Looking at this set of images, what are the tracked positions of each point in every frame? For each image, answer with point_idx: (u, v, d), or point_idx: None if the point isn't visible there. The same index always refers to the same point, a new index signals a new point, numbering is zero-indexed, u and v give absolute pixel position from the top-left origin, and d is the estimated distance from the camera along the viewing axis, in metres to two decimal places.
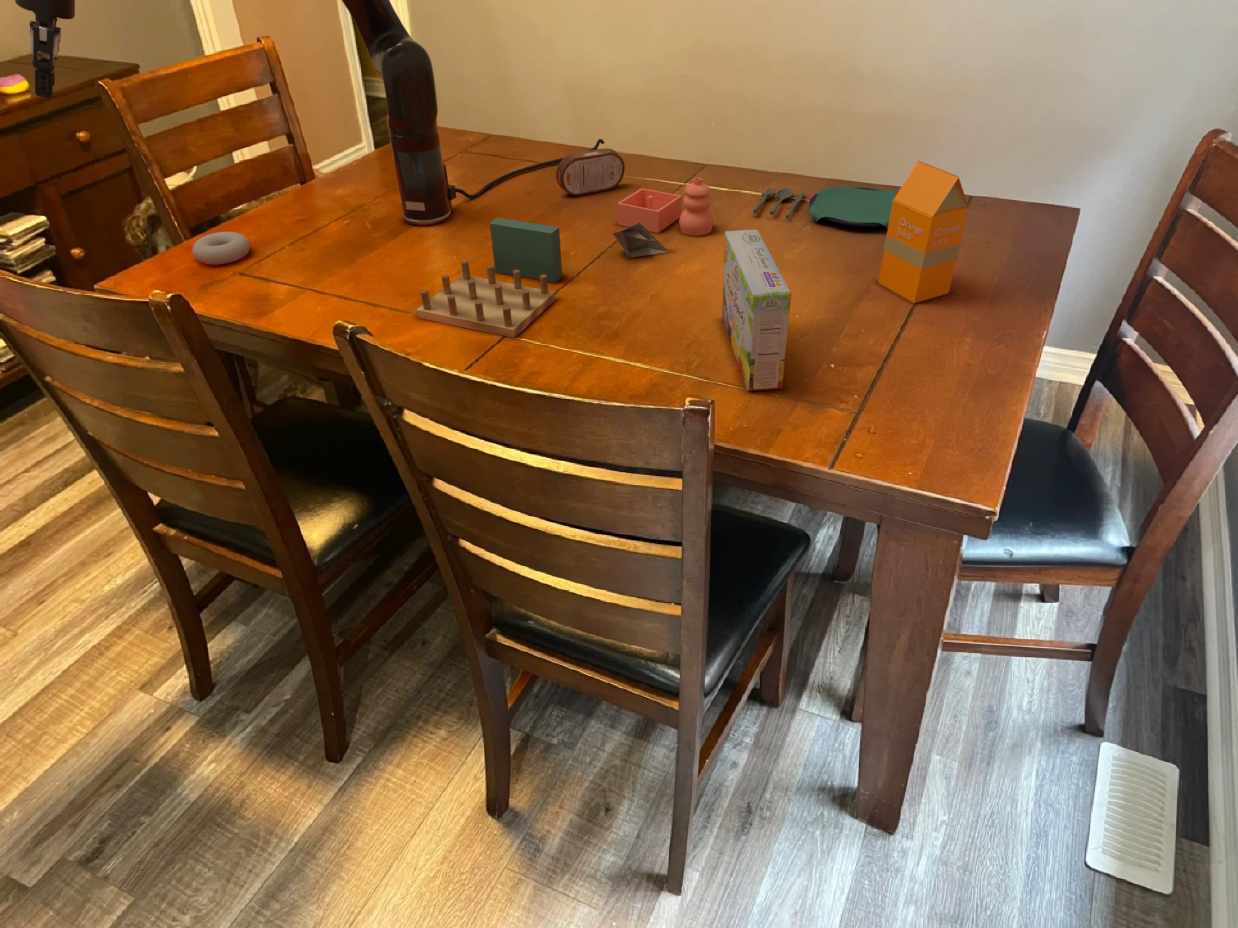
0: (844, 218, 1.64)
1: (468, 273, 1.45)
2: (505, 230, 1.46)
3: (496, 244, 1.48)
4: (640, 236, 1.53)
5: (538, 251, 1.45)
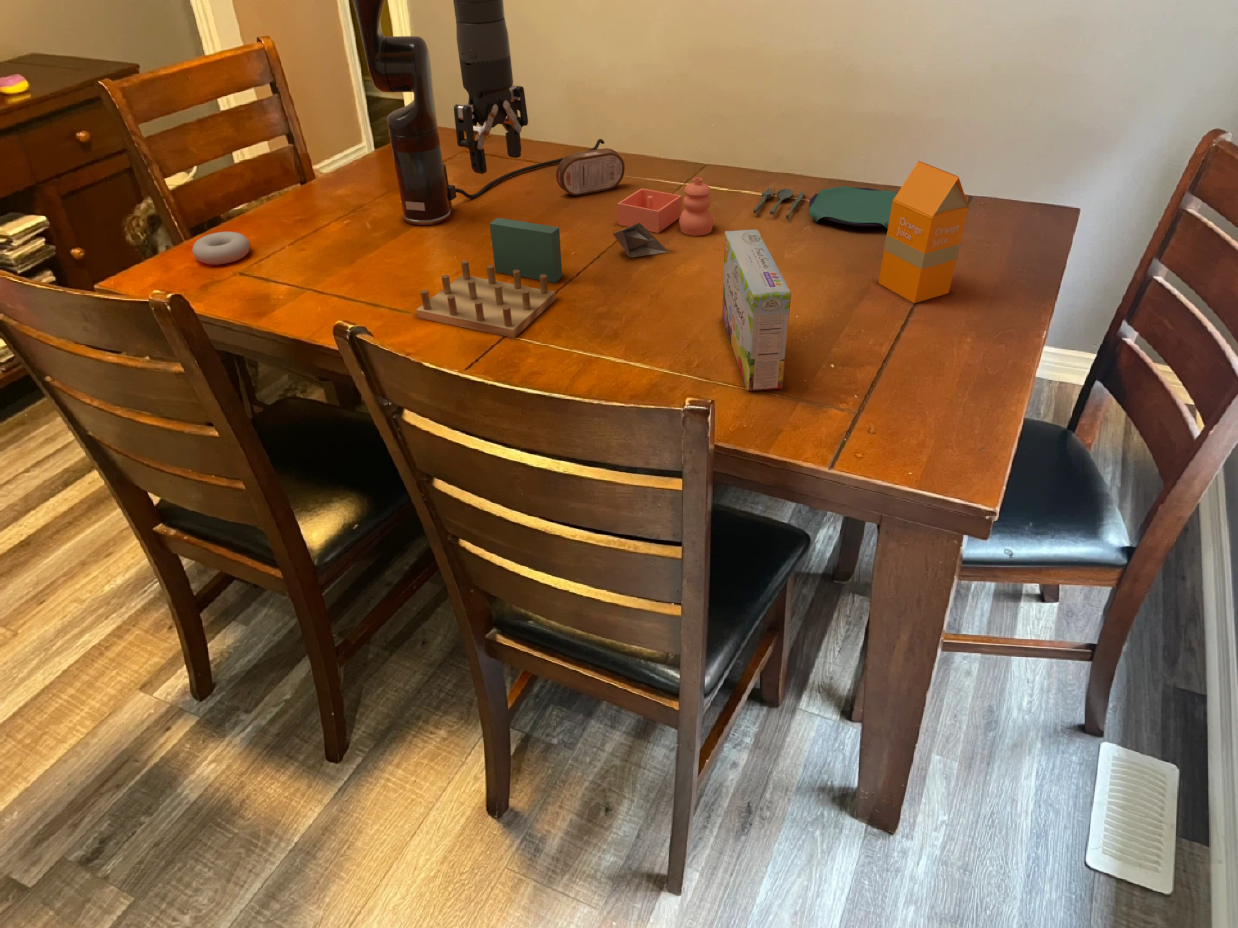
0: (844, 218, 1.64)
1: (468, 273, 1.45)
2: (505, 230, 1.46)
3: (496, 244, 1.48)
4: (640, 236, 1.53)
5: (538, 251, 1.45)
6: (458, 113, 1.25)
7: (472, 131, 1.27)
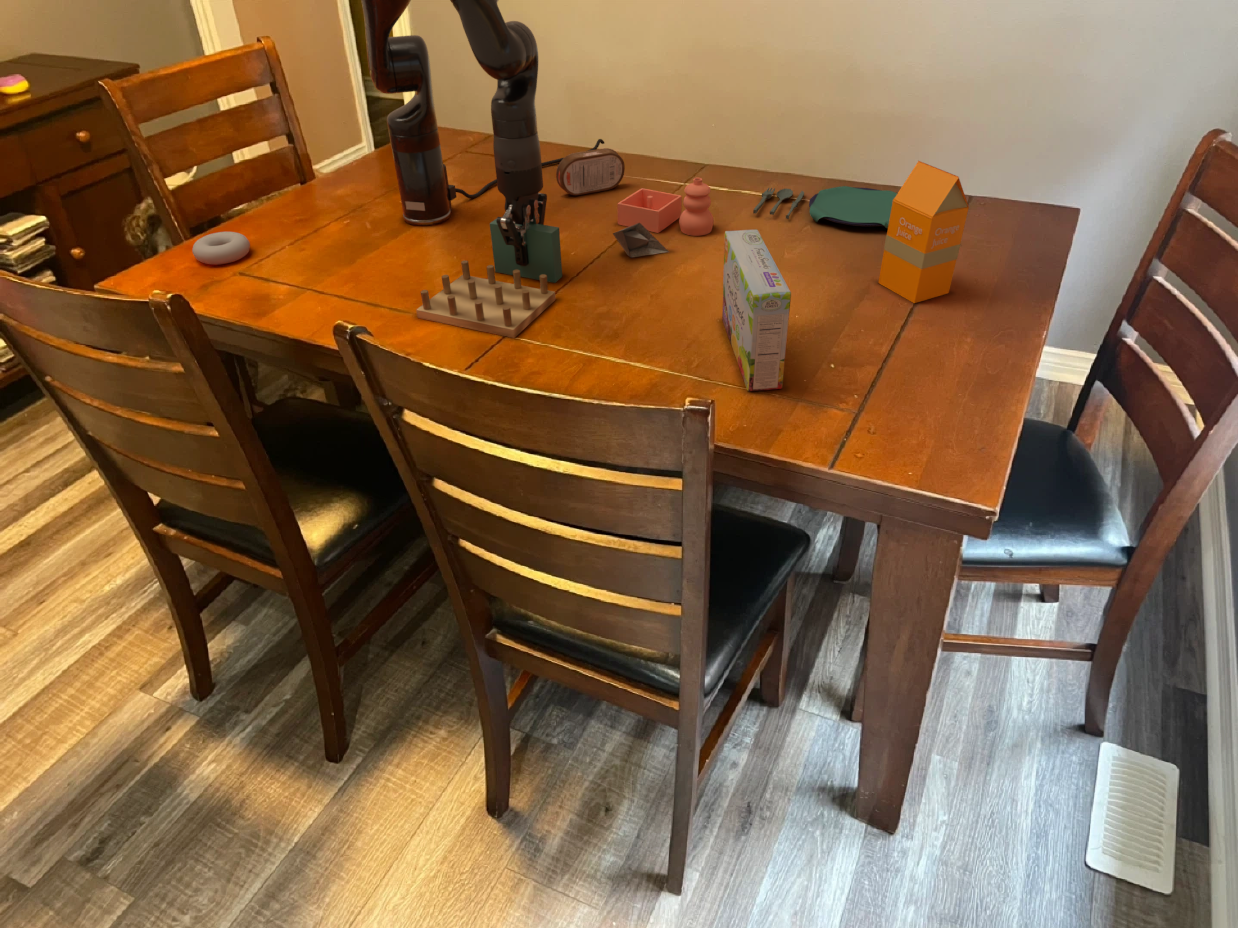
0: (844, 218, 1.64)
1: (468, 273, 1.45)
2: None
3: (496, 244, 1.48)
4: (640, 236, 1.53)
5: (538, 251, 1.45)
6: (502, 226, 1.39)
7: (517, 234, 1.41)
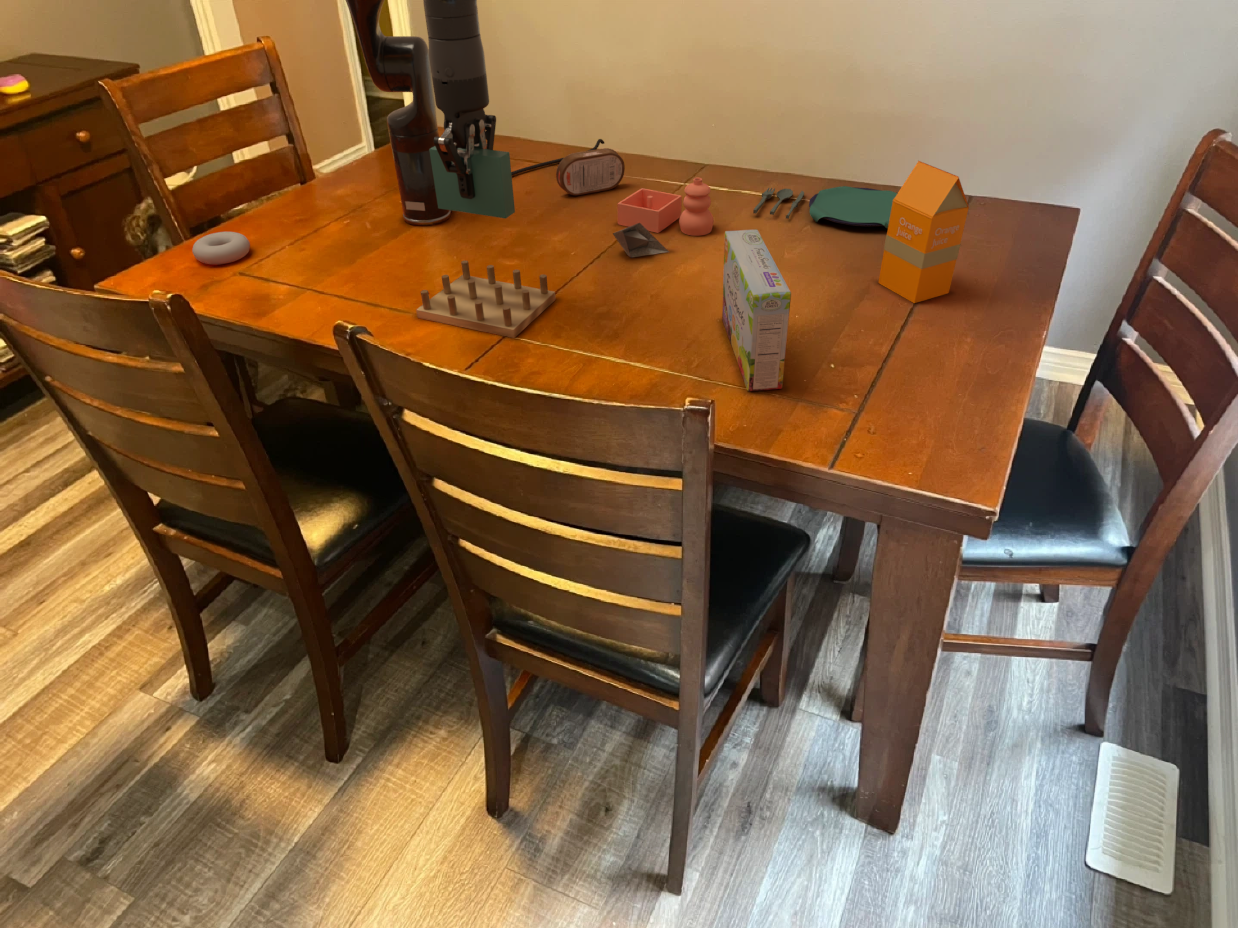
0: (844, 218, 1.64)
1: (468, 273, 1.45)
2: None
3: (438, 174, 1.28)
4: (640, 236, 1.53)
5: (485, 181, 1.25)
6: (441, 147, 1.19)
7: (459, 158, 1.21)
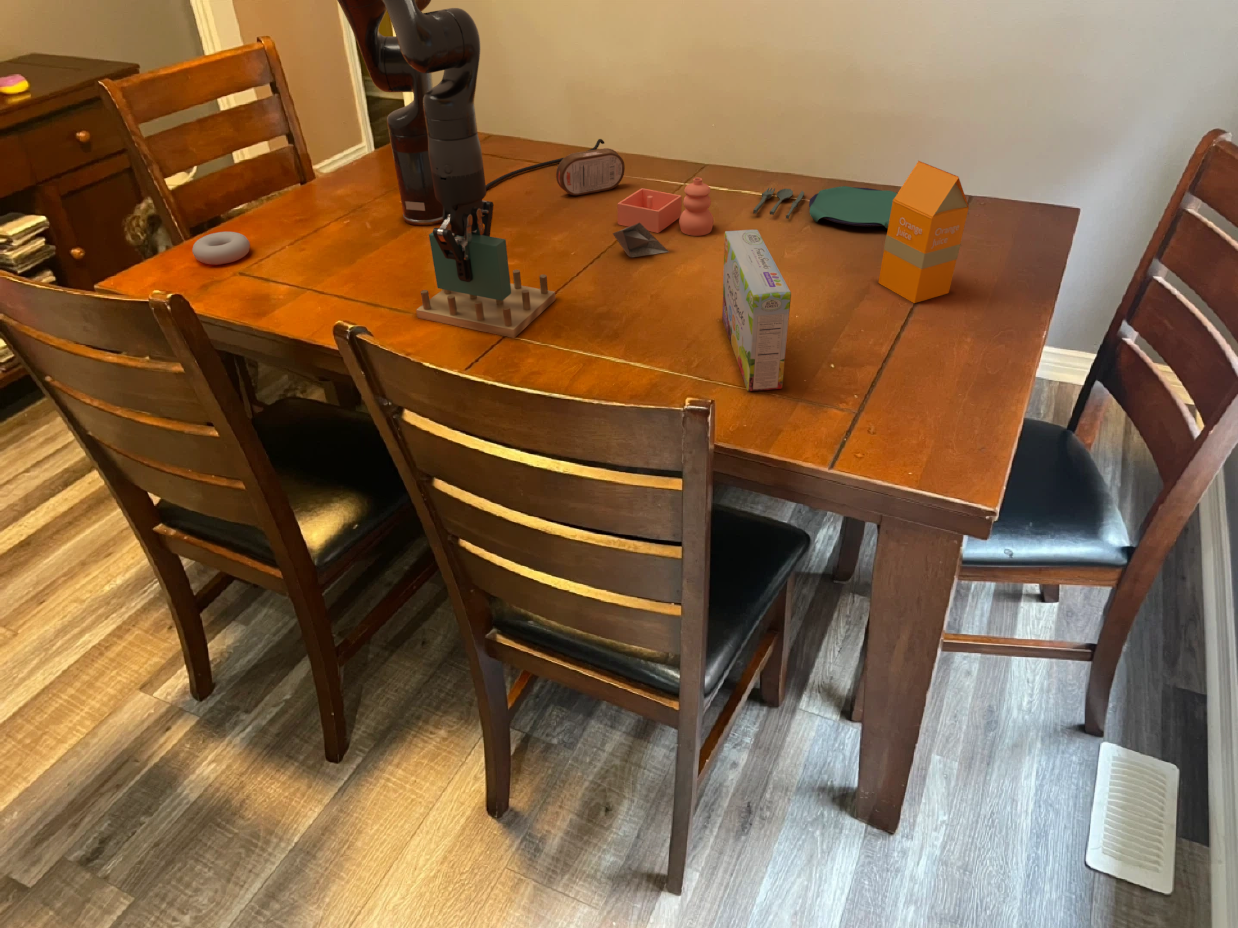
0: (844, 218, 1.64)
1: None
2: None
3: (437, 257, 1.33)
4: (640, 236, 1.53)
5: (482, 266, 1.30)
6: (439, 238, 1.24)
7: (457, 246, 1.26)
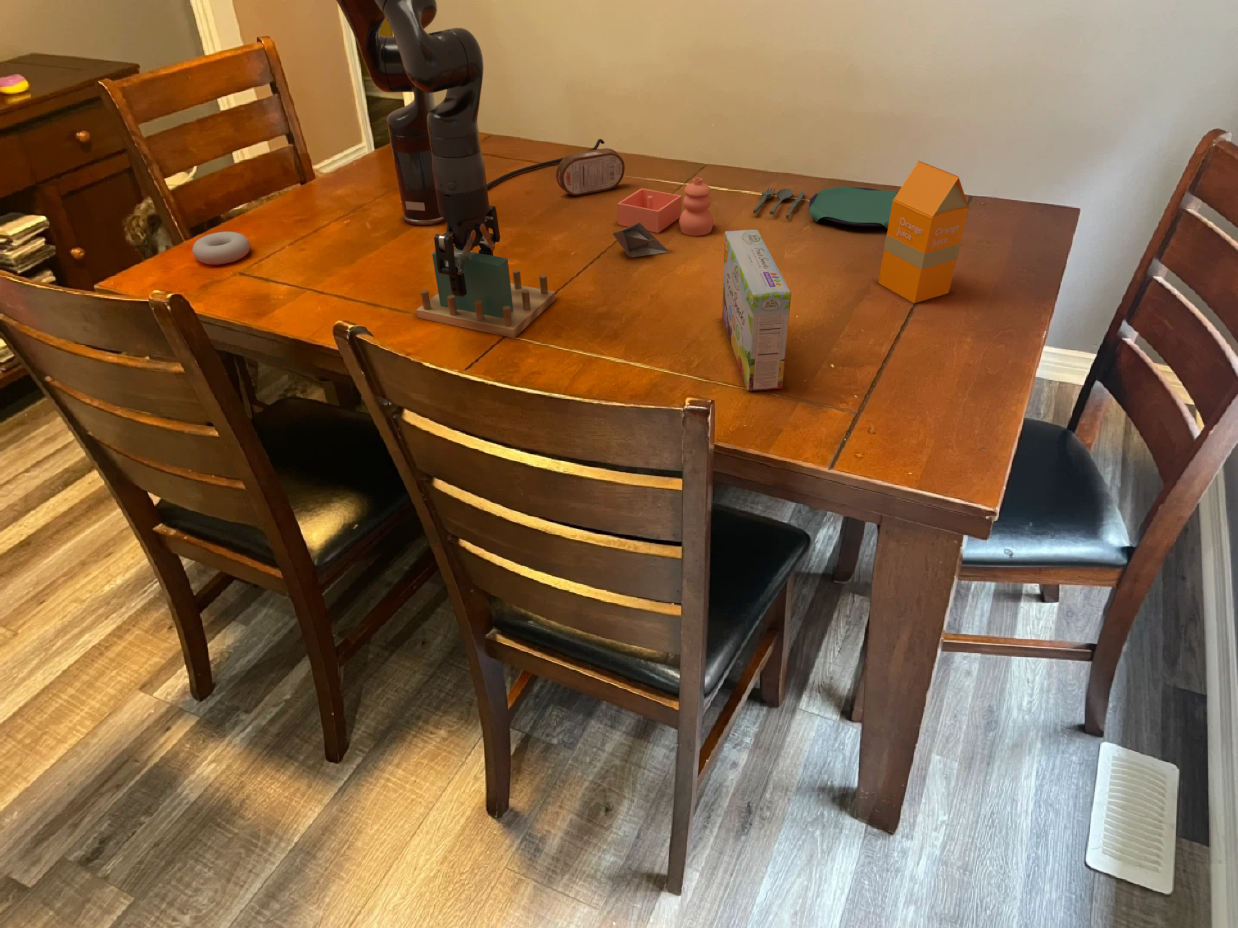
0: (844, 218, 1.64)
1: None
2: None
3: (440, 275, 1.35)
4: (640, 236, 1.53)
5: (485, 285, 1.32)
6: (439, 243, 1.24)
7: (453, 259, 1.26)
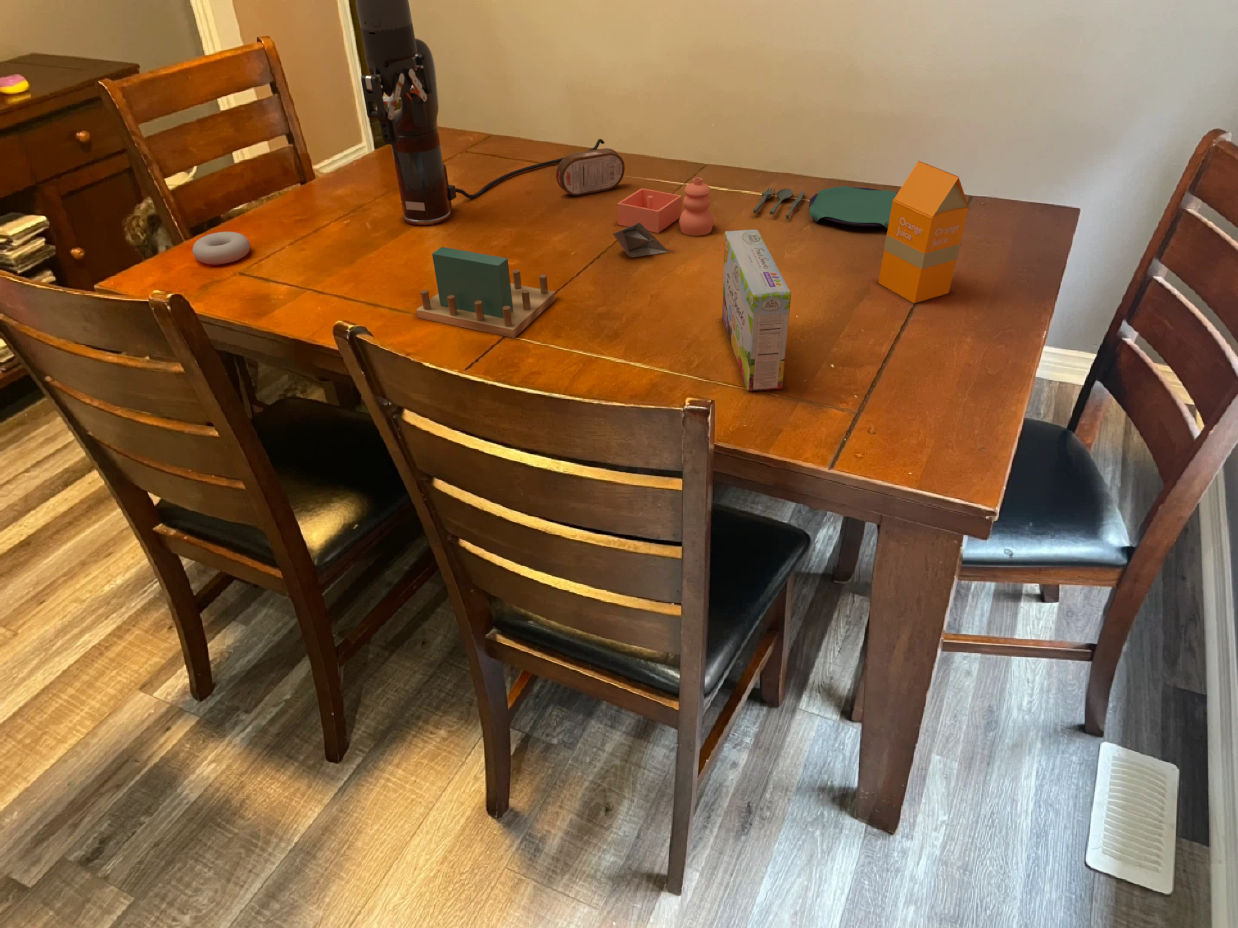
0: (844, 218, 1.64)
1: None
2: (449, 261, 1.32)
3: (440, 275, 1.35)
4: (640, 236, 1.53)
5: (485, 285, 1.32)
6: (366, 84, 1.24)
7: (382, 101, 1.26)
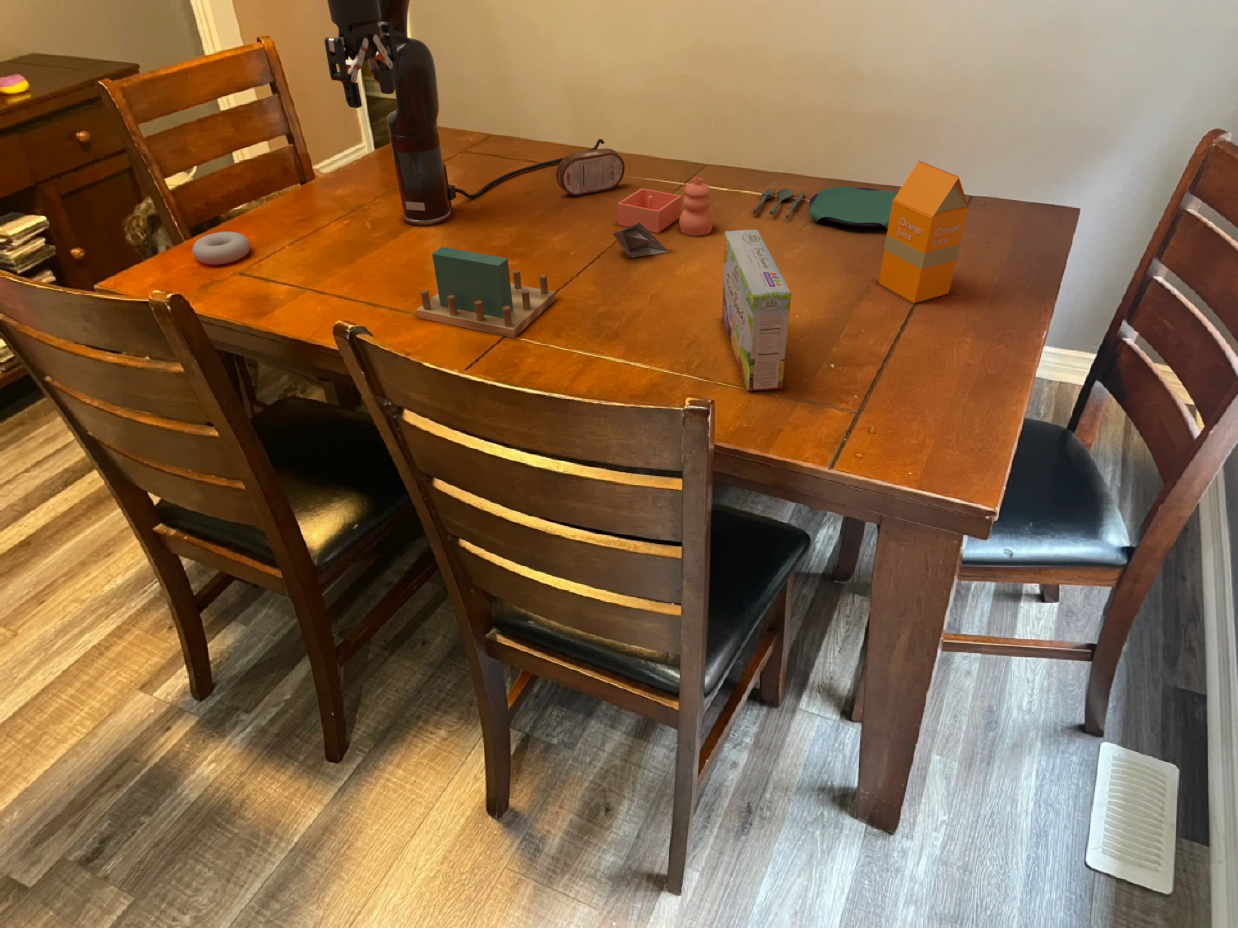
0: (844, 218, 1.64)
1: None
2: (449, 261, 1.32)
3: (440, 275, 1.35)
4: (640, 236, 1.53)
5: (485, 285, 1.32)
6: (330, 46, 1.28)
7: (345, 64, 1.30)
